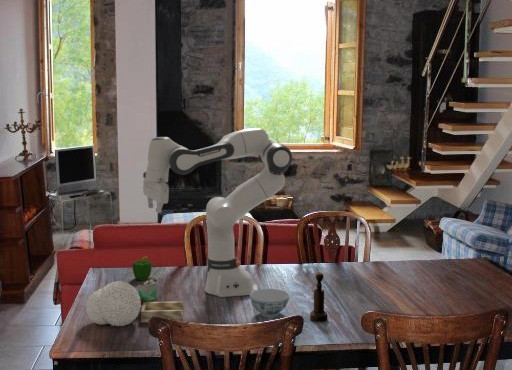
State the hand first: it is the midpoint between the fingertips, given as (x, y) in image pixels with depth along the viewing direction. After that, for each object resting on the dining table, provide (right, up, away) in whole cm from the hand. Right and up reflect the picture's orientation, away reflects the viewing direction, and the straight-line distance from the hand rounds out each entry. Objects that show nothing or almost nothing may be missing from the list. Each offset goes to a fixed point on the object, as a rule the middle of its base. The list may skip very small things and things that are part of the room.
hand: (154, 210), depth 281 cm
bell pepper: (-9, -32, +27) cm, 43 cm away
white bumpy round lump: (-11, -41, -28) cm, 51 cm away
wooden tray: (+6, -40, -21) cm, 45 cm away
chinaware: (+46, -39, -17) cm, 63 cm away
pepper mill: (+65, -40, -22) cm, 79 cm away
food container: (0, -38, -8) cm, 39 cm away
